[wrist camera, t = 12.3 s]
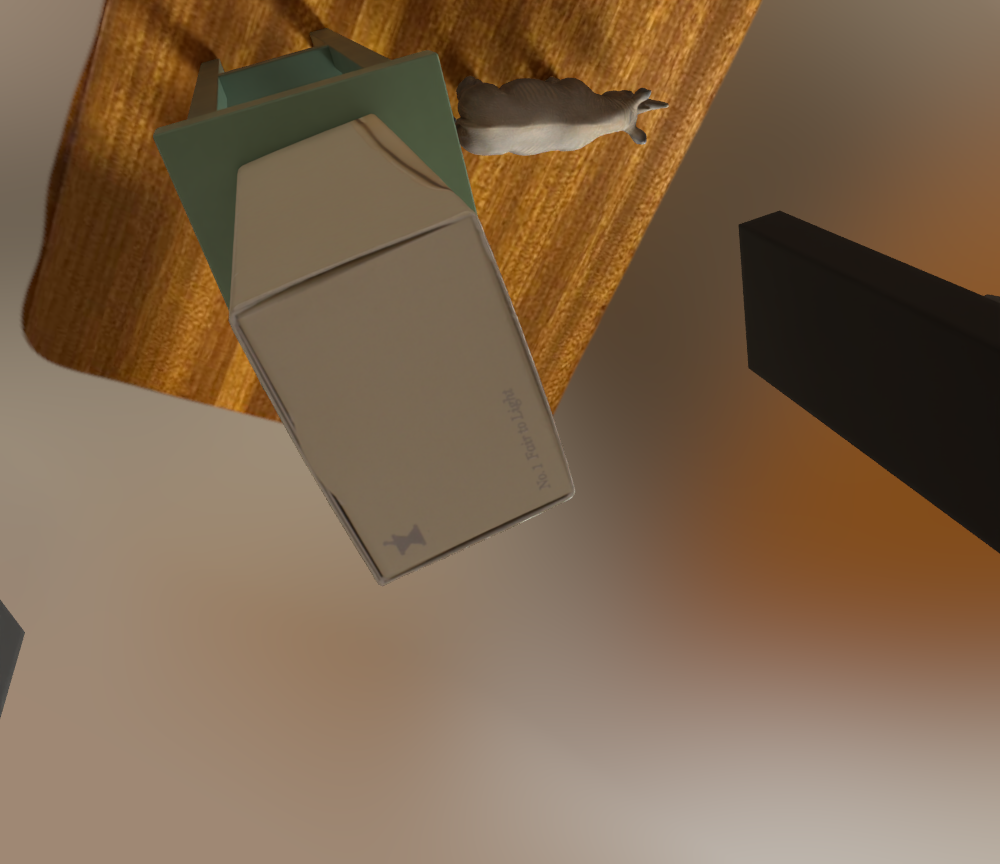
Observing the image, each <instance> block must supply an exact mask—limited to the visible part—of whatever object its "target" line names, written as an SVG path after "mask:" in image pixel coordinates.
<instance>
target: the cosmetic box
mask: <svg viewBox="0 0 1000 864" xmlns="http://www.w3.org/2000/svg"><path fill="white" fill-rule="evenodd" d="M229 322H230V325H231V327H232V330H233V332H234V333H235V335H236V337H237V339H238V341H239V343H240V345H241V347H242V349H243V350H244V352H245V354H246V356H247V358H248V360H249V362H250V364H251V366H252V367H253V369H254V371H255V373H256V375H257V377H258V379H259V381H260V382H261V384H262V386H263V388H264V389H265V391H266V393H267V395H268V397H269V398H270V400H271V402H272V404H273V406H274V408H275V410H276V412H277V413H278V415H279V417H280V419H281V421H282V422H283V424H284V426H285V428H286V430H287V432H288V433H289V435H290V437H291V439H292V441H293V442H294V444H295V446H296V448H297V450H298V452H299V453H300V455H301V457H302V459H303V461H304V462H305V464H306V466H307V467H308V469H309V471H310V472H311V474H312V475H313V477H314V479H315V481H316V482H317V484H318V486H319V487H320V489H321V491H322V492H323V494H324V496H325V497H326V499H327V501H328V503H329V504H330V506H331V508H332V510H333V511H334V513H335V514H336V516H337V517H338V519H339V521H340V523H341V524H342V526H343V527H344V529H345V531H346V532H347V534H348V536H349V537H350V539H351V541H352V542H353V544H354V546H355V547H356V549H357V551H358V552H359V554H360V556H361V557H362V559H363V560H364V562H365V563H366V565H367V566H368V568H369V570H370V572H371V573H372V575H373V577H374V579H375V580H376V582H377V583H378V584H379V585H381V586H385V585H387V584H389V583H391V582H393V581H395V580H397V579H399V578H401V577H403V576H405V575H408V574H410V573H413V572H415V571H417V570H419V569H422V568H424V567H426V566H429V565H431V564H433V563H435V562H437V561H439V560H442V559H445V558H446V557H448V556H450V555H453V554H455V553H458V552H460V551H462V550H464V549H466V548H468V547H470V546H472V545H474V544H476V543H479V542H481V541H483V540H485V539H487V538H489V537H492V536H494V535H496V534H498V533H501V532H504V531H506V530H508V529H510V528H512V527H514V526H516V525H518V524H520V523H522V522H524V521H526V520H528V519H530V518H532V517H534V516H536V515H538V514H540V513H542V512H545V511H547V510H549V509H551V508H553V507H554V506H557V505H559V504H561V503H563V502H566V501H567V500H569V499H570V498H572V497H573V495H574V494H575V488H574V483H573V480H572V476H571V472H570V469H569V465H568V463H567V459H566V456H565V452H564V449H563V446H562V443H561V439H560V437H559V434H558V431H557V428H556V424H555V421H554V418H553V415H552V413H551V410H550V407H549V403H548V401H547V398H546V395H545V392H544V389H543V386H542V383H541V381H540V378H539V375H538V372H537V370H536V367H535V364H534V361H533V359H532V356H531V353H530V350H529V348H528V345H527V342H526V339H525V337H524V334H523V331H522V328H521V326H520V323H519V321H518V318H517V315H516V313H515V310H514V307H513V304H512V302H511V299H510V297H509V294H508V291H507V289H506V286H505V284H504V281H503V279H502V276H501V274H500V271H499V268H498V266H497V263H496V260H495V258H494V255H493V252H492V250H491V248H490V245H489V243H488V241H487V238H486V236H485V233H484V231H483V228H482V225H481V223H480V221H479V219H478V217H477V215H476V213H475V212H474V211H473V210H472V209H470V208H469V207H468V206H467V205H466V204H465V202H464V201H463V200H462V199H461V198H460V197H459V196H457V195H456V194H455V193H454V192H453V191H452V190H451V189H450V188H449V187H448V186H447V185H446V184H445V183H444V182H443V181H442V180H441V179H440V178H439V176H437V175H436V174H435V173H434V172H433V171H432V170H431V169H430V168H429V167H428V166H427V165H426V164H425V163H424V162H423V161H422V160H421V159H420V158H419V157H418V156H417V155H416V154H415V153H414V152H413V151H412V150H411V149H410V148H409V147H408V146H407V145H406V144H405V143H404V142H403V141H402V140H401V139H400V138H399V137H398V136H397V135H396V134H395V133H394V132H393V131H392V130H391V129H389V128H388V127H387V126H386V125H385V124H384V123H383V122H382V121H381V120H380V119H379V118H378V117H377V116H376V115H375V114H369V115H366V116H364V117H361V118H359V119H356V120H353V121H351V122H348V123H345V124H343V125H340V126H337V127H335V128H332V129H329V130H327V131H324V132H322V133H319V134H317V135H314V136H312V137H309V138H307V139H304V140H302V141H299V142H297V143H294V144H292V145H289V146H287V147H285V148H282V149H280V150H277V151H275V152H272V153H270V154H268V155H265V156H263V157H261V158H258V159H256V160H254V161H251V162H249V163H247V164H244V165H242V166H241V167H240V168H239V169H238V173H237V192H236V208H235V226H234V242H233V260H232V277H231V291H230V307H229Z"/></svg>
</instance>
